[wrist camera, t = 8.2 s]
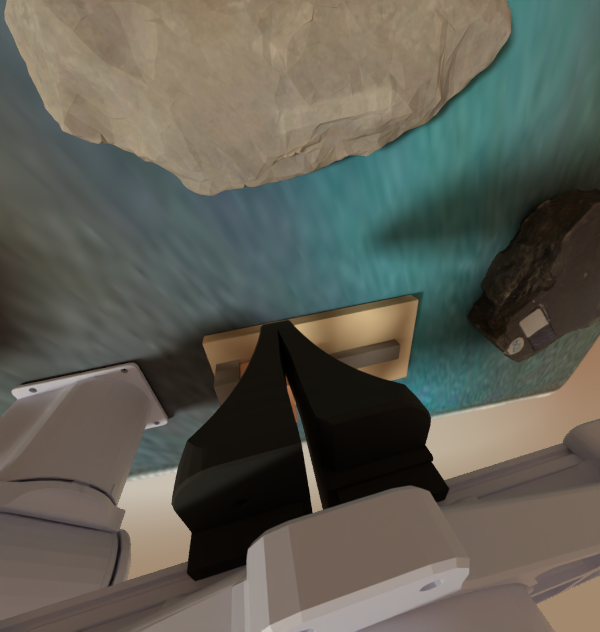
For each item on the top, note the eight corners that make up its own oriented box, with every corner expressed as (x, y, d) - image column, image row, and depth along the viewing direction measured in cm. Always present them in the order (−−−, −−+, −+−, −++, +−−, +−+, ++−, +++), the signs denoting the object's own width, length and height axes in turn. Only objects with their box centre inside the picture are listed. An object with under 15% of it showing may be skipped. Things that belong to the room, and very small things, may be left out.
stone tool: (-197, -269, 6) (618, -207, 9) (-17, -86, 11) (498, -84, 14) (67, 216, 12) (516, 157, 15) (113, 206, 16) (455, 162, 19)
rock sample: (503, 190, 22) (567, 193, 17) (636, 184, 24) (720, 186, 20) (447, 350, 30) (481, 378, 26) (550, 333, 33) (596, 356, 29)
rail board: (231, 410, 27) (230, 445, 24) (204, 336, 22) (197, 365, 19) (400, 369, 30) (421, 395, 26) (411, 294, 25) (438, 314, 21)
